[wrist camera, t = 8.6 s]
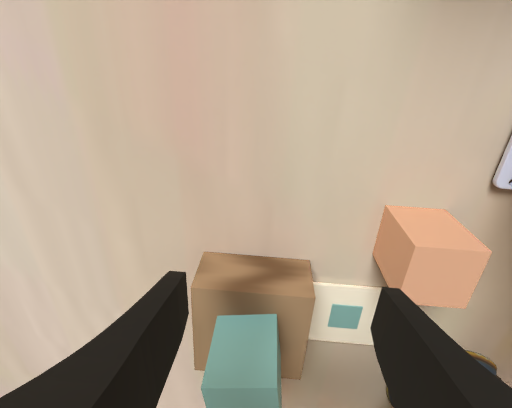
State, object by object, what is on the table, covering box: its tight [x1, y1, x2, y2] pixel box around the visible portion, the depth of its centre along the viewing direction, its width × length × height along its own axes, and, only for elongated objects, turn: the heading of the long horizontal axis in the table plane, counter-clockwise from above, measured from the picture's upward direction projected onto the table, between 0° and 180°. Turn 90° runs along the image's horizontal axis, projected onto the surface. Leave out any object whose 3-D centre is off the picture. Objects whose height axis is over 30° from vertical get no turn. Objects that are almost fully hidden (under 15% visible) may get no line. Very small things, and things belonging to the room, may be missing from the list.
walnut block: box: [191, 252, 316, 379], centre depth 23 cm, size 8×8×4 cm
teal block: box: [201, 314, 282, 408], centre depth 19 cm, size 4×4×5 cm
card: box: [308, 282, 382, 345], centre depth 25 cm, size 6×6×1 cm
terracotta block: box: [373, 205, 492, 309], centre depth 19 cm, size 4×4×5 cm
